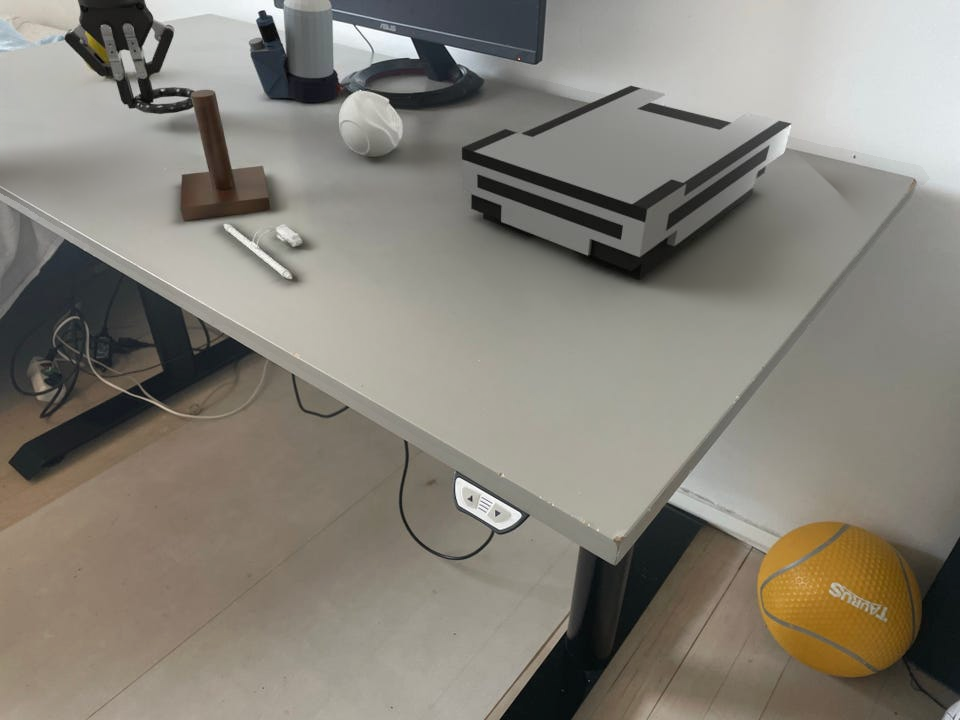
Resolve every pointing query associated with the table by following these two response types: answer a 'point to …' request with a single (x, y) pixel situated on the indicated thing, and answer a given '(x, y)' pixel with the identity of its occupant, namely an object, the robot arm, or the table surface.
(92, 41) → the lemon
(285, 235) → the picture light
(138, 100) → the ring
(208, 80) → the table surface
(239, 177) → the stand
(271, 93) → the vaping device
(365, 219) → the table surface
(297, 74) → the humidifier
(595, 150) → the game console
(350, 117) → the white ridged ball
